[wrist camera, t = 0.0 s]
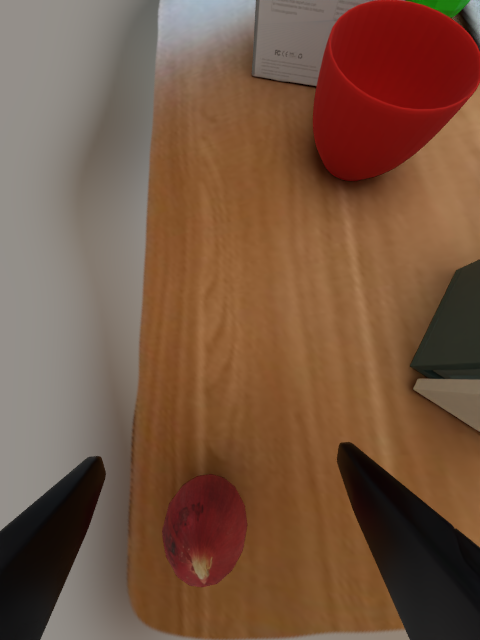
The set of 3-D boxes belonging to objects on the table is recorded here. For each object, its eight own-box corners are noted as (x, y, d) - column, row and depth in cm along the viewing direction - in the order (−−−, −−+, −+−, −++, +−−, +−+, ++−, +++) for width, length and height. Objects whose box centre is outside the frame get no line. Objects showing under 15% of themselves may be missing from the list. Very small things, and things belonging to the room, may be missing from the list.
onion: (168, 528, 20) (127, 626, 12) (186, 454, 21) (159, 499, 13) (236, 544, 20) (239, 653, 12) (250, 468, 21) (260, 523, 13)
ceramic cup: (419, 118, 31) (504, 1, 21) (383, 220, 27) (466, 134, 18) (327, 84, 32) (368, -43, 22) (280, 179, 28) (305, 75, 19)
